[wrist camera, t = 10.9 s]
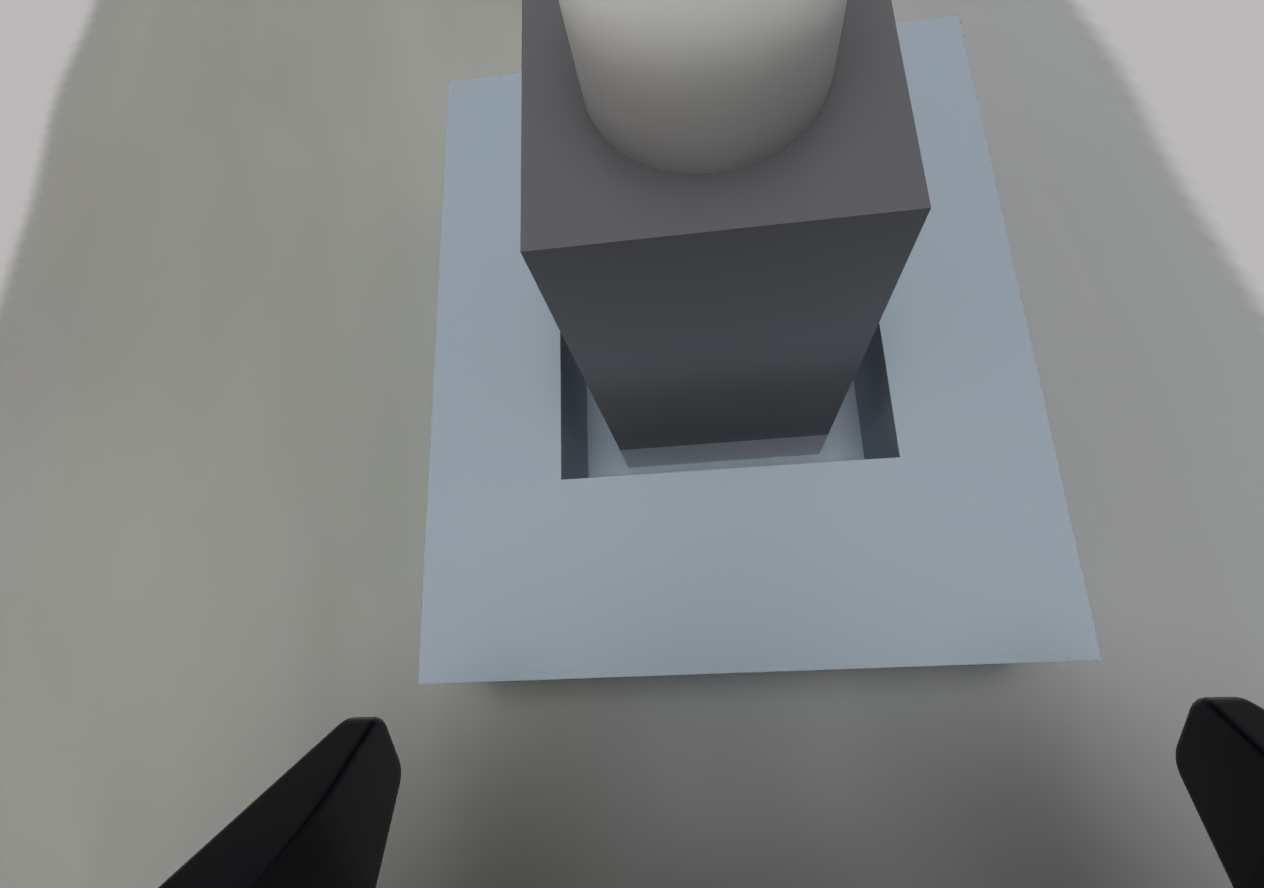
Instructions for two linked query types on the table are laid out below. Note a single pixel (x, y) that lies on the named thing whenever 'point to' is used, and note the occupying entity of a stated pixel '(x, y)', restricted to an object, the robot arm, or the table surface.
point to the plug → (717, 210)
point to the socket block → (746, 460)
